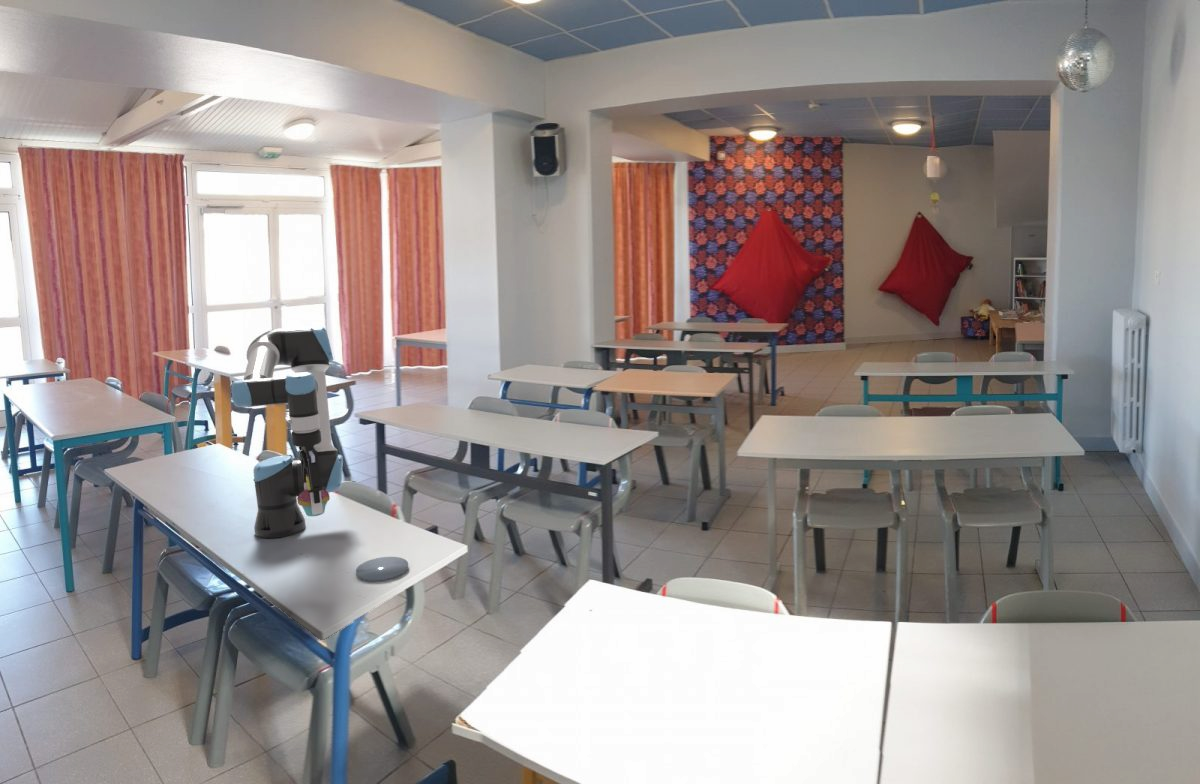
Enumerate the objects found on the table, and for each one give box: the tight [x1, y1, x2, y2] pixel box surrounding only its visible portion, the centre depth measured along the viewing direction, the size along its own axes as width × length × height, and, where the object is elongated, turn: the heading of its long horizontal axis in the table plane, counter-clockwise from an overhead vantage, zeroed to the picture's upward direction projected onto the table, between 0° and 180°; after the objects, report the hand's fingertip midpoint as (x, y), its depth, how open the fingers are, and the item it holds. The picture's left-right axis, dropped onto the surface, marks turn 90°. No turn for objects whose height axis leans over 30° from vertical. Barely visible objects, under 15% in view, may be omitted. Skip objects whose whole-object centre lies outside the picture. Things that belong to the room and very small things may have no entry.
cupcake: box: [296, 475, 330, 517], centre depth 221 cm, size 9×8×12 cm
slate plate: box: [355, 556, 409, 583], centre depth 221 cm, size 14×14×1 cm
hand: (314, 508), depth 222 cm, fingers closed on cupcake, 8 cm apart
